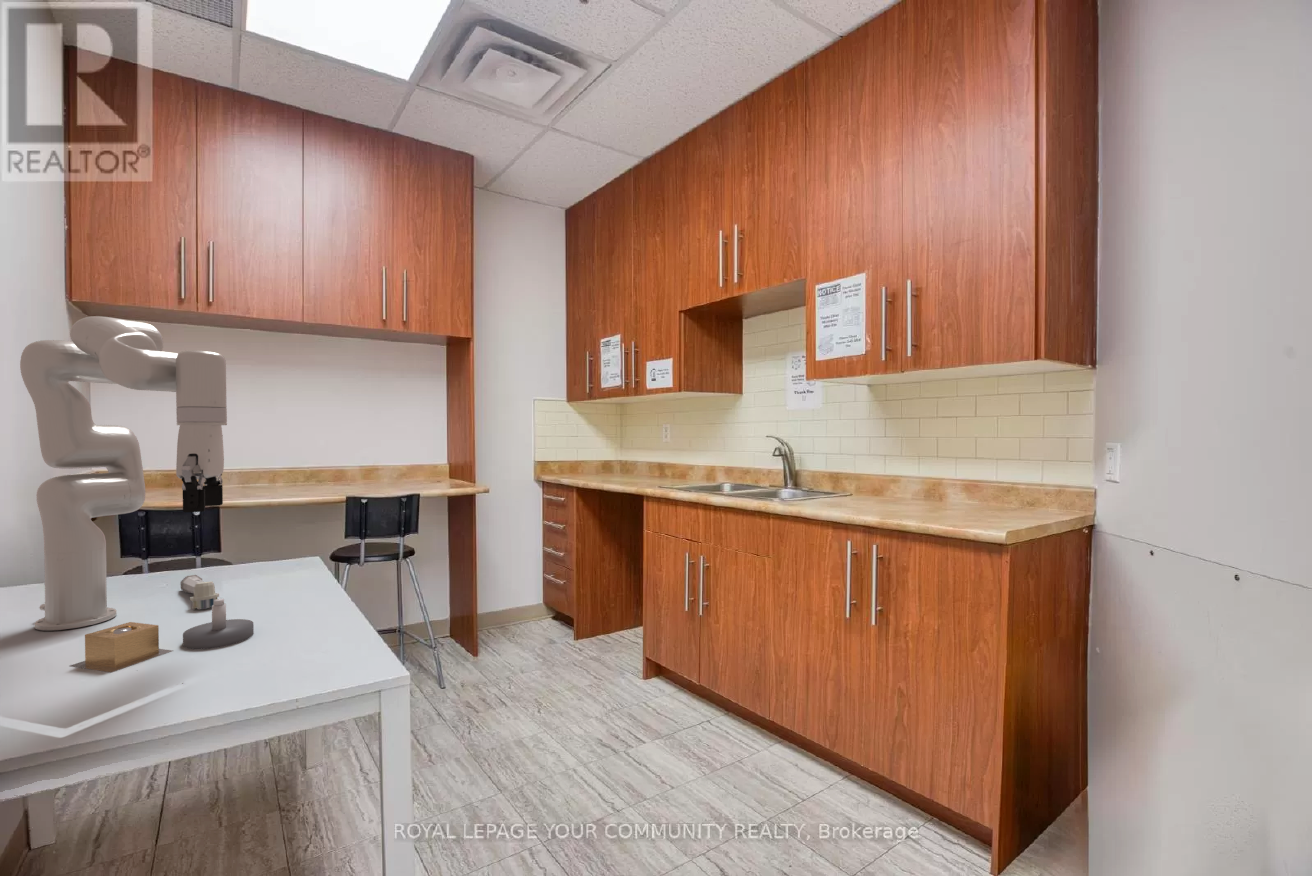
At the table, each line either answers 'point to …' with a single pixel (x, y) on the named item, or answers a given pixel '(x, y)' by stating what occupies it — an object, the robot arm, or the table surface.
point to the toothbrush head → (199, 591)
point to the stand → (111, 669)
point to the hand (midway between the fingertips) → (203, 508)
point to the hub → (218, 630)
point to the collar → (121, 644)
